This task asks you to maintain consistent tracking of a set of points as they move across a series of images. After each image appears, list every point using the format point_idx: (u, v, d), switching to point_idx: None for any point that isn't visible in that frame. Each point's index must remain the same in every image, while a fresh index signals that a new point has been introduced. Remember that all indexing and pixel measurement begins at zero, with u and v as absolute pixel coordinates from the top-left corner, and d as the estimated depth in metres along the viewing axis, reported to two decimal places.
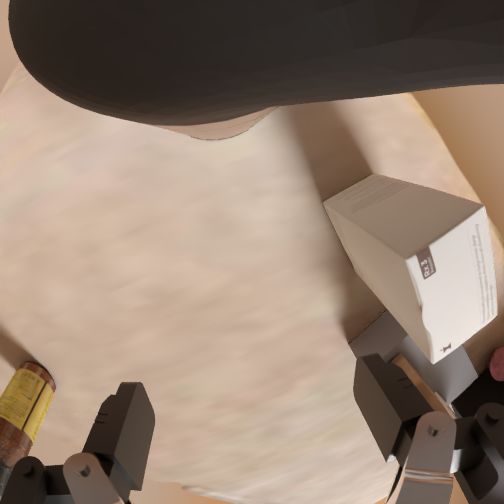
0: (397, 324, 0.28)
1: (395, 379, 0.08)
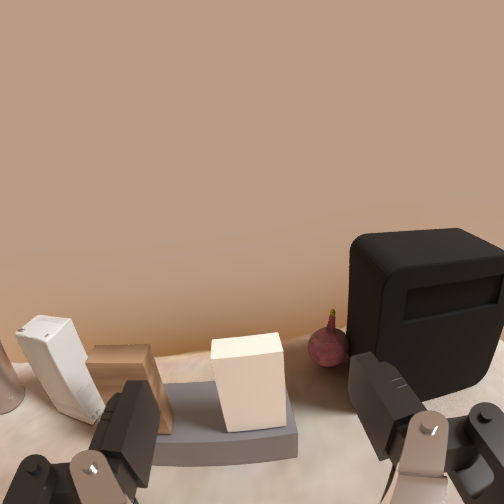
0: None
1: (388, 378, 0.08)
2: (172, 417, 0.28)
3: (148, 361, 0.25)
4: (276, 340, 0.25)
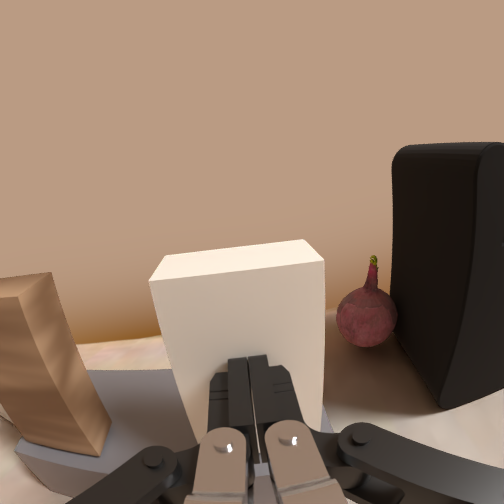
0: None
1: (270, 382, 0.09)
2: (106, 426, 0.14)
3: (40, 302, 0.11)
4: (303, 248, 0.12)
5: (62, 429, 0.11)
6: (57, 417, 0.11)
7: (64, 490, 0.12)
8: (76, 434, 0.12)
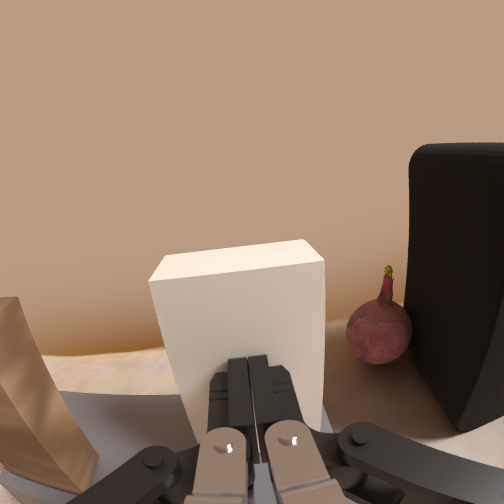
0: None
1: (270, 382, 0.09)
2: (93, 462, 0.11)
3: (4, 335, 0.08)
4: (303, 248, 0.12)
5: (44, 468, 0.08)
6: (37, 457, 0.08)
7: None
8: (59, 474, 0.09)
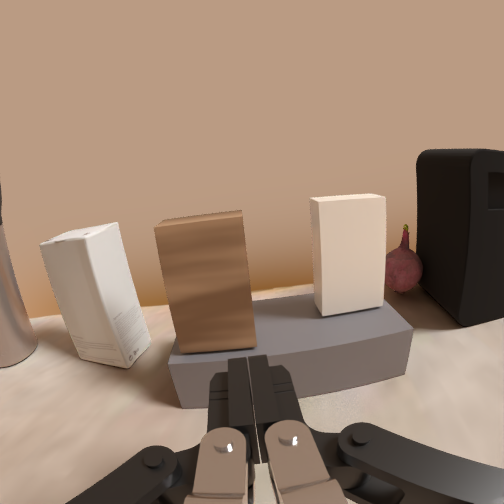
0: None
1: (270, 382, 0.09)
2: None
3: None
4: (373, 195, 0.25)
5: (235, 324, 0.22)
6: (236, 312, 0.22)
7: (203, 400, 0.23)
8: (246, 326, 0.22)
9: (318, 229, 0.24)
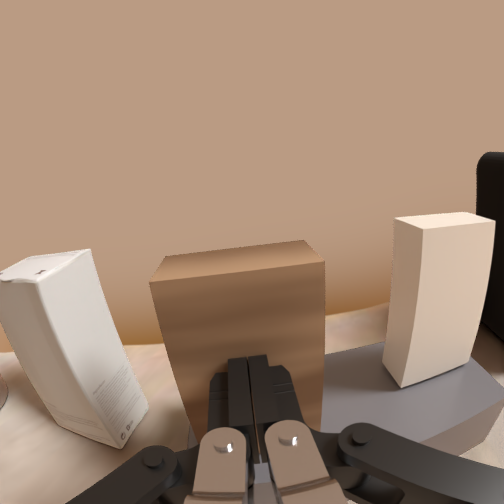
0: None
1: (270, 382, 0.09)
2: None
3: None
4: (474, 215, 0.15)
5: None
6: None
7: None
8: (308, 424, 0.12)
9: (414, 270, 0.14)
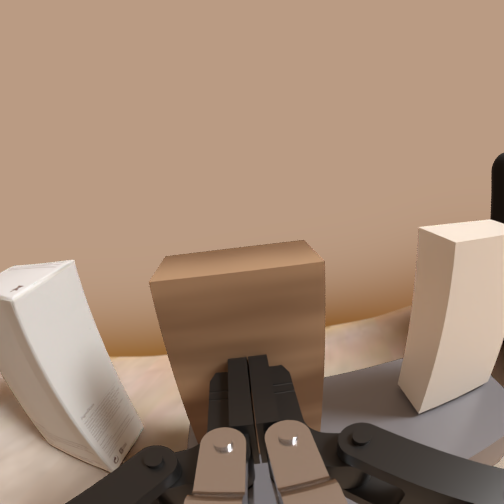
0: None
1: (270, 382, 0.09)
2: None
3: None
4: (502, 224, 0.12)
5: None
6: None
7: None
8: (308, 424, 0.12)
9: (443, 289, 0.12)
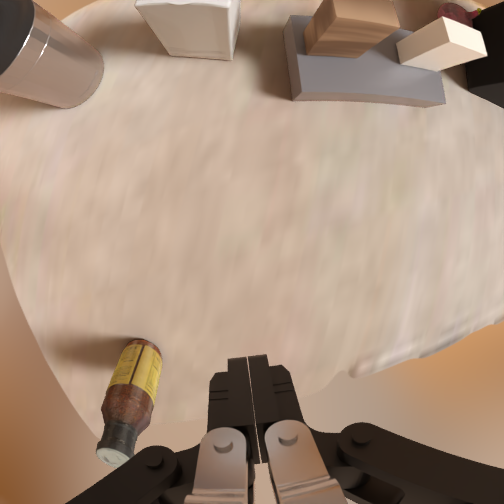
0: (291, 53, 0.29)
1: (270, 382, 0.09)
2: None
3: None
4: (481, 41, 0.18)
5: (352, 51, 0.25)
6: (358, 48, 0.24)
7: (310, 99, 0.32)
8: (358, 52, 0.25)
9: (435, 42, 0.20)
